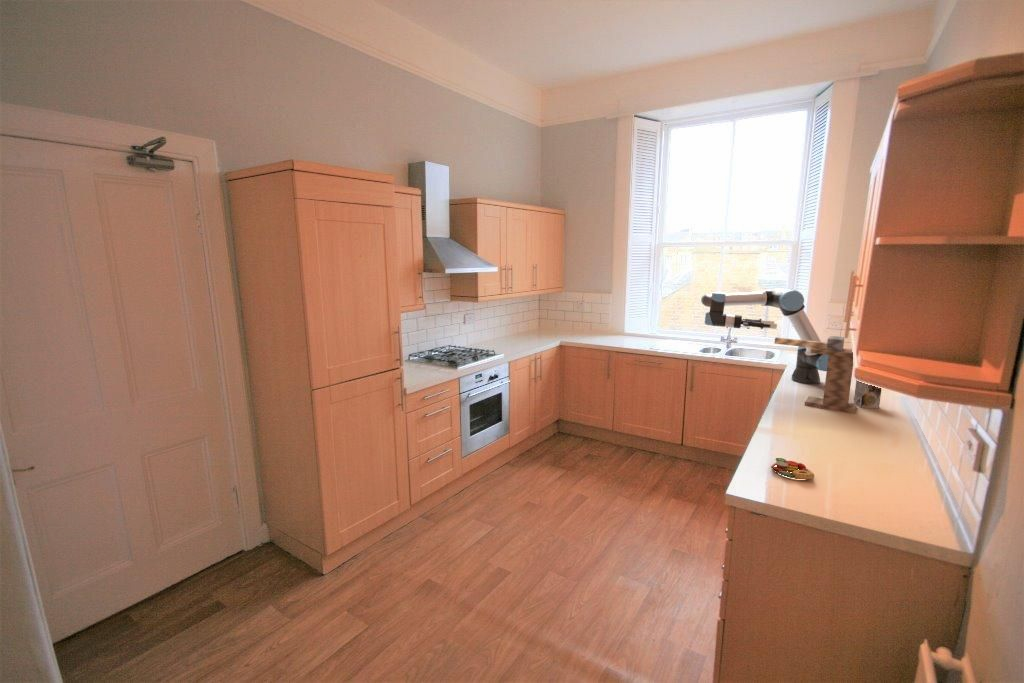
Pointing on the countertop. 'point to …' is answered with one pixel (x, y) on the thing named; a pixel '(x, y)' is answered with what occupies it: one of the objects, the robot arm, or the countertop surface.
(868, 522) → the countertop surface
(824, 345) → the wooden handled hammer
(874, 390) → the coffee box
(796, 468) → the toy food set
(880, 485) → the countertop surface
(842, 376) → the walnut stand
